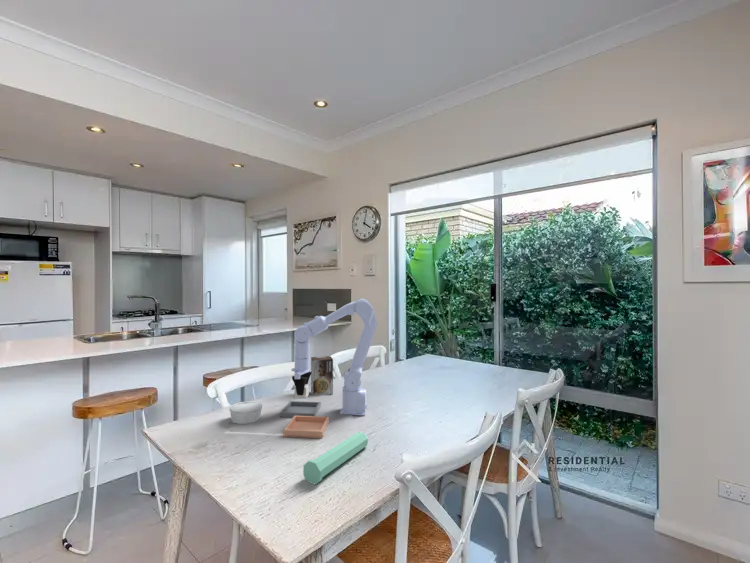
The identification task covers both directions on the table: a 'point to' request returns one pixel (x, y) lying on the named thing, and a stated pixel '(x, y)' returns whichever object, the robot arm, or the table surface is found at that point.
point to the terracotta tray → (306, 427)
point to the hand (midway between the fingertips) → (301, 392)
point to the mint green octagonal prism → (334, 457)
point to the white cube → (305, 394)
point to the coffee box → (322, 375)
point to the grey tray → (300, 409)
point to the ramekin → (245, 412)
